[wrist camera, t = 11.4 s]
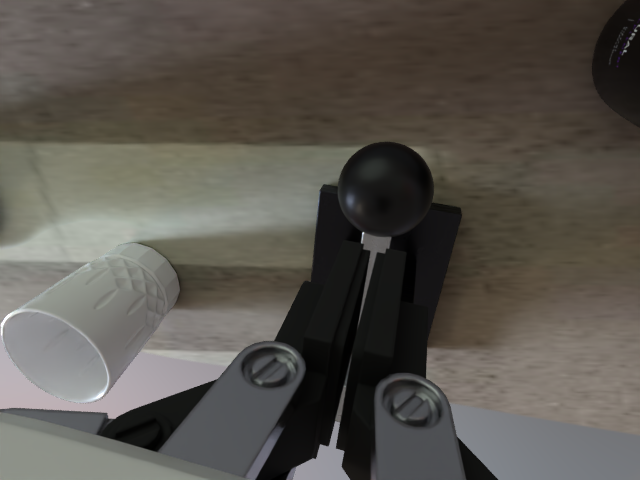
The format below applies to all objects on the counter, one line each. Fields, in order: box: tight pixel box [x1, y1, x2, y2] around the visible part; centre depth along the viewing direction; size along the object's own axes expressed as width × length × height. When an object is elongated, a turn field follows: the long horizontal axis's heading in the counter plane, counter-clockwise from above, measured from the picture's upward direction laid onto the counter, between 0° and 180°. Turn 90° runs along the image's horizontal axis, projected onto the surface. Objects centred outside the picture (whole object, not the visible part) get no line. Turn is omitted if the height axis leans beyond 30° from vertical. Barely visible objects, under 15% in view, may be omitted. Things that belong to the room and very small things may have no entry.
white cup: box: [1, 243, 180, 403], centre depth 32 cm, size 8×8×10 cm
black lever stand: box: [311, 184, 462, 340], centre depth 26 cm, size 12×9×13 cm
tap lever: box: [335, 142, 434, 422], centre depth 19 cm, size 14×3×3 cm, turn 175°
